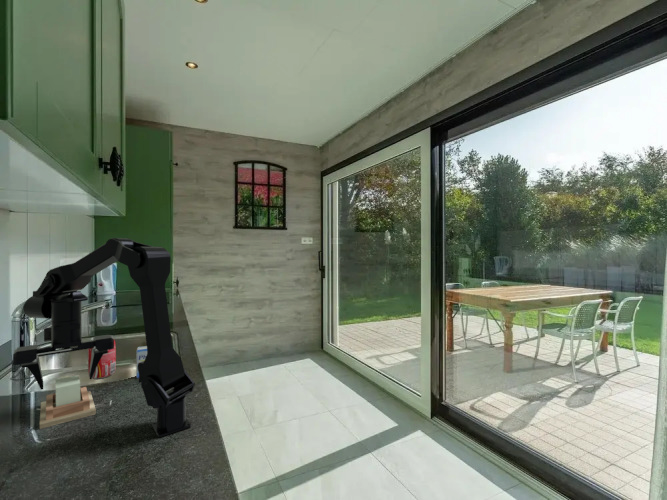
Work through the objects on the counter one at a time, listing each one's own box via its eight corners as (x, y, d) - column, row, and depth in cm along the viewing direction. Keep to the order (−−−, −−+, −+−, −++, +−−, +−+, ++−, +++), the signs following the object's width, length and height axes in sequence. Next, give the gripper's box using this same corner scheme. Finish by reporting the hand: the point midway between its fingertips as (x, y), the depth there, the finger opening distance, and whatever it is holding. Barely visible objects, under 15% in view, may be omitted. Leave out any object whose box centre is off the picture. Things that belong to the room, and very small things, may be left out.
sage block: (78, 398, 85) (78, 375, 85) (80, 408, 80) (80, 383, 80) (55, 403, 82) (55, 379, 82) (56, 414, 77) (55, 388, 77)
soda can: (91, 374, 105) (90, 336, 105) (117, 370, 108) (117, 333, 108) (85, 382, 98) (85, 341, 98) (113, 378, 101) (113, 338, 101)
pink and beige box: (95, 414, 79) (95, 401, 79) (39, 429, 72) (39, 415, 72) (90, 394, 90) (90, 383, 90) (41, 406, 83) (40, 394, 83)
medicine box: (136, 378, 101) (135, 350, 101) (138, 373, 105) (137, 346, 105) (165, 374, 104) (165, 346, 104) (166, 369, 108) (165, 343, 108)
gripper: (108, 310, 93) (108, 366, 93) (16, 319, 81) (16, 384, 81) (114, 316, 85) (114, 377, 85) (12, 327, 73) (13, 399, 73)
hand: (67, 383), depth 81 cm, fingers open, 9 cm apart
